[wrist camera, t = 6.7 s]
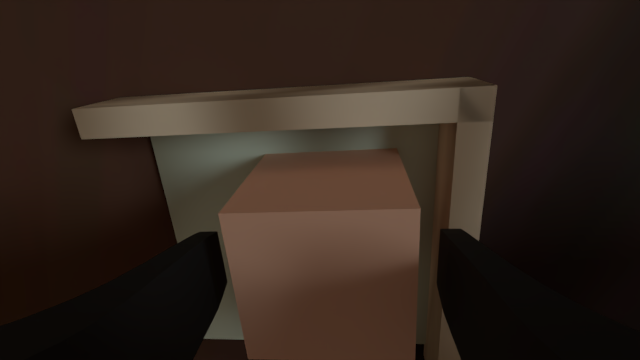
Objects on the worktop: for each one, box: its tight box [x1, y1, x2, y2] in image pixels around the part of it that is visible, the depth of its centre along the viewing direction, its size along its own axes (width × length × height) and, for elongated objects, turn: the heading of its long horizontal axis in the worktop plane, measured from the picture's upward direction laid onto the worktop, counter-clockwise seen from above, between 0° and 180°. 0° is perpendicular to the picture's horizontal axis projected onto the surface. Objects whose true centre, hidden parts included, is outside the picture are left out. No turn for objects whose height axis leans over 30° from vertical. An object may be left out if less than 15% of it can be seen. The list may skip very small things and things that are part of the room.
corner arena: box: [72, 77, 497, 360], centre depth 14 cm, size 13×13×2 cm
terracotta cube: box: [218, 148, 421, 360], centre depth 12 cm, size 5×5×5 cm
